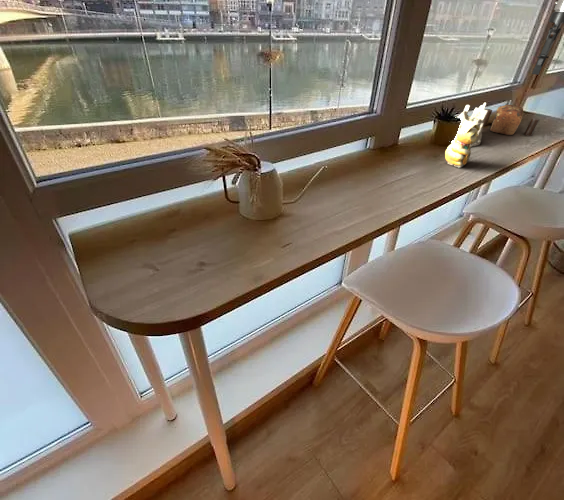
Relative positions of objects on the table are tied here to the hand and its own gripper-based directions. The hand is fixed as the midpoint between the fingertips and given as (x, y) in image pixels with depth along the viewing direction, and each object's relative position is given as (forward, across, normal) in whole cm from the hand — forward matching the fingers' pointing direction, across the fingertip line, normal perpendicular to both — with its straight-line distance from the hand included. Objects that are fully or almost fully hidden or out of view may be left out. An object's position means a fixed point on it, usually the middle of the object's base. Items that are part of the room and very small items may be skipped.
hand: (535, 74), depth 152 cm
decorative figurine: (+21, +80, -7) cm, 83 cm away
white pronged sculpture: (+21, +51, -13) cm, 57 cm away
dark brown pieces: (+21, +22, -1) cm, 31 cm away
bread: (+21, +22, -2) cm, 30 cm away
